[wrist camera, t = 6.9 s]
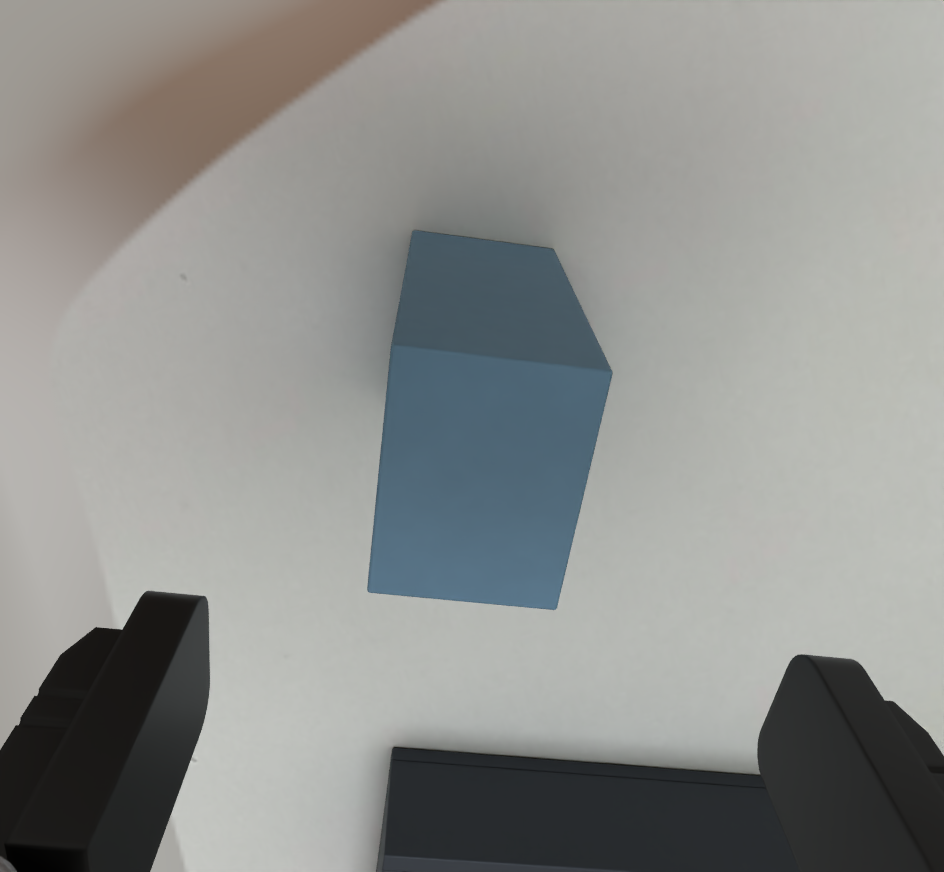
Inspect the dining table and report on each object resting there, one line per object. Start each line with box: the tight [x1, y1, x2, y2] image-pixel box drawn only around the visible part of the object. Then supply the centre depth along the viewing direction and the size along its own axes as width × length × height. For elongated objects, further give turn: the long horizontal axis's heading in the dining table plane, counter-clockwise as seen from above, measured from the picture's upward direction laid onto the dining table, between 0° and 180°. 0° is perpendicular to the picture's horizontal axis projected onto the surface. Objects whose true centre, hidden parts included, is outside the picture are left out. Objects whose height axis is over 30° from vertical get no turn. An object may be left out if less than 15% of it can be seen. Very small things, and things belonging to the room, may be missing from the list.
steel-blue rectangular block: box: [367, 230, 612, 610], centre depth 19 cm, size 4×6×9 cm
